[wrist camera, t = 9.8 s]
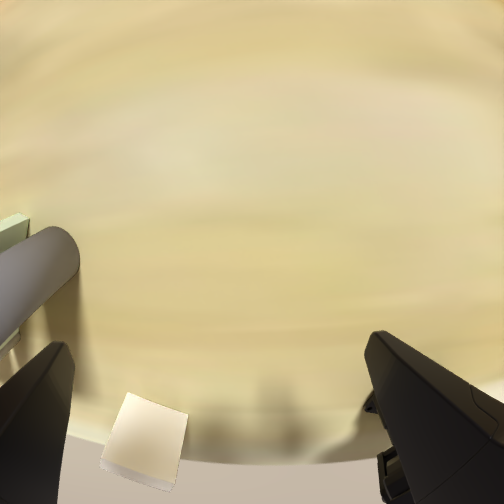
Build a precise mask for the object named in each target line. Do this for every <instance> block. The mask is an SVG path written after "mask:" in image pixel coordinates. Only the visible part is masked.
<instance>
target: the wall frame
mask: <svg viewBox="0 0 504 504" xmlns="http://www.w3.org/2000/svg"><path fill="white" fill-rule="evenodd" d="M187 420H188V414H185V413H182V412H179V411H176V410H173V409H171V408H168V407H165V406H162V405H160V404H157V403H154V402H152V401H149V400H146V399H144V398H141V397H139V396H136V395H134V394H131V393H129V392H128V393H127V395H126V398H125V400H124V402H123V405H122V407H121V409H120V412H119V414H118V416H117V419H116V421H115V424H114V426H113V429H112V431H111V433H110V436H109V438H108V441H107V443H106V446H105V448H104V451H103V454H102V456H101V461H100V468H102V469H104V470H107V471H109V472H112V473H114V474H117V475H120V476H122V477H125V478H128V479H130V480H133V481H136V482H138V483H142V484H144V485H148V486H150V487H153V488H157V489H160V490H163V491H167V492H170V491H171V490H172V488H173V486H174V485H175V481H176V476H177V471H178V466H179V461H180V455H181V450H182V445H183V440H184V435H185V430H186V425H187Z"/></svg>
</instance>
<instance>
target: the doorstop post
mask: <svg viewBox="0 0 504 504" xmlns="http://www.w3.org/2000/svg"><path fill="white" fill-rule="evenodd" d="M79 264H80V255H79V250H78V247H77V245H76V243H75V241H74V239H73V238H72V237H71V235H70V234H69V233H68V232H66V231H65V230H64V229H62V228H59V227H55V226H51V227H47V228H45V229H43V230H41V231H40V232H38V233H36V234H34V235H32V236H30V237H29V238H27V239H25V240H23V241H21V242H20V243H18V244H16V245H14V246H13V247H11V248H9V249H7V250H6V251H4V252H2V253H1V254H0V346H1V345H2V344H3V343H4V342H5V341H6V339H7V338H8V337H9V336H10V335H11V334H12V333H13V332H14V331H15V330H16V329H17V328H18V327H19V326H20V325H21V324H22V323H23V322H24V321H25V320H26V319H27V318H29V317H30V316H31V315H32V314H33V313H34V312H35V311H36V310H37V309H38V308H39V307H40V306H41V305H42V304H43V303H44V302H45V301H46V300H47V299H49V298H50V297H51V296H52V295H53V294H54V293H55V292H56V291H57V290H58V289H59V288H61V287H62V286H63V285H64V284H65V283H66V282H67V281H68V280H69V279H71V278H72V277H73V276H74V275H75V274H76V272H77V270H78V268H79Z"/></svg>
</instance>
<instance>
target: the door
mask: <svg viewBox="0 0 504 504" xmlns="http://www.w3.org/2000/svg"><path fill="white" fill-rule="evenodd" d="M28 224H29V218H28V217H26V216H25V215H23V214H21V213H18V214H15V215H13V216H10V217H8V218H6V219H3V220H1V221H0V254H1V253H2V252H4V251H6V250H7V249H9V248H11V247H13V246H14V245H16V244H18V243H20V242H21V241H23V240H25V239H26V236H27V230H28ZM20 339H21V337H20V334H19V327H18V328H17V329H16V330H15V331H14V332H13V333H12V334H11V335H10V336H9V337H8V338H7V339H6V341H5V342H4V343H3V344H2V345H1V346H0V361H1V360H2V359H3V358H4V356H5V355H6V354H7V353H8V352H9V351H10V350H11V349H12V348H13V347H14V346H15V345H16V344H17V343H18V341H19V340H20Z"/></svg>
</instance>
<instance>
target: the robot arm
mask: <svg viewBox="0 0 504 504" xmlns="http://www.w3.org/2000/svg"><path fill="white" fill-rule="evenodd" d="M364 356H365V361H366V364H367V368H368V371H369V375H370V378H371V382H372V385H373V389H374V392H375V393H374V394H373V396H372V397H371V398H370V399H369V400H368V402H367V403H366V404H365V405H364V410H365V411H366V412H369V413H375V414H379V417H380V419H381V422H382V424H383V427H384V429H386V430H387V432H388V435H389V437H390V440H391V442H392V445H393V447H391V448H389V449H388V450H386V451H385V452H381V453H380V454H378V455H377V459H378V473H379V484H380V493H381V496H382V500H383V502H384V503H387V504H504V403H502V402H500V401H498V400H496V399H494V398H493V397H491V396H489V395H487V394H486V393H484V392H482V391H481V390H479V389H477V388H476V387H474V386H473V385H470V384H469V383H468V382H466V381H465V380H463V379H462V378H460V377H458V376H457V375H455V374H454V373H452V372H450V371H449V370H447V369H446V368H444V367H442V366H441V365H439V364H438V363H436V362H435V361H433V360H431V359H430V358H428V357H427V356H425V355H423V354H422V353H420V352H419V351H417V350H415V349H414V348H412V347H411V346H409V345H407V344H406V343H404V342H403V341H401V340H399V339H398V338H396V337H395V336H393V335H391V334H390V333H388V332H387V331H384V330H381V331H374V332H373V333H372V334H371V335H370V338H369V341H368V343H367V346H366V349H365V353H364ZM74 371H75V364H74V360H73V358H72V355H71V353H70V350H69V348H68V345H67V344H66V343H65V342H61V341H53V342H51V343H50V344H49V345H48V346H46V347H45V348H44V349H43V350H42V351H41V352H40V353H38V354H37V355H36V356H35V357H34V358H33V359H31V360H30V361H29V362H28V363H27V364H26V365H25V366H24V367H22V368H21V369H20V370H19V371H18V372H17V373H16V374H15V375H13V376H12V377H11V378H10V379H9V380H8V381H7V382H6V383H5V384H4V385H2V386H1V387H0V504H57V499H58V489H59V480H60V471H61V464H62V457H63V450H64V444H65V438H66V432H67V427H68V422H69V416H70V408H71V398H72V388H73V380H74Z"/></svg>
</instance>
